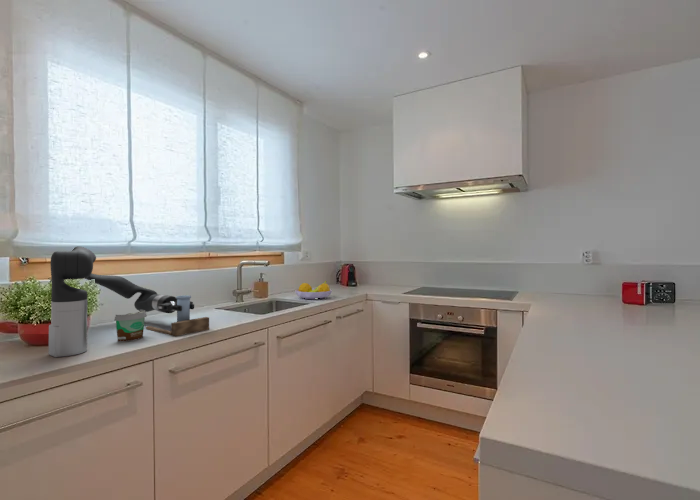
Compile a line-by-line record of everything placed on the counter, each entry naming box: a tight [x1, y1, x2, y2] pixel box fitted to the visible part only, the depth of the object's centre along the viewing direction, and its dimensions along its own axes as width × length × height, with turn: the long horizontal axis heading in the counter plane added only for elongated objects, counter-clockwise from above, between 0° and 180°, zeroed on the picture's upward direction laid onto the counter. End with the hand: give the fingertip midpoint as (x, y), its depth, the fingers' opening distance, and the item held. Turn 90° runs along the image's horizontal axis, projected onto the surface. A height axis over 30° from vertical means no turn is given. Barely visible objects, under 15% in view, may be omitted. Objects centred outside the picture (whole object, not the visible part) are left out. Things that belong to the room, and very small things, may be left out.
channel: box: [145, 316, 210, 337], centre depth 149 cm, size 15×22×5 cm
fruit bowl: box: [294, 280, 333, 300], centre depth 247 cm, size 28×27×11 cm
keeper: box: [175, 294, 192, 322], centre depth 146 cm, size 6×6×11 cm
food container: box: [114, 310, 148, 342], centre depth 133 cm, size 12×6×10 cm, turn 168°
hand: (187, 307), depth 145 cm, fingers closed on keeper, 4 cm apart
